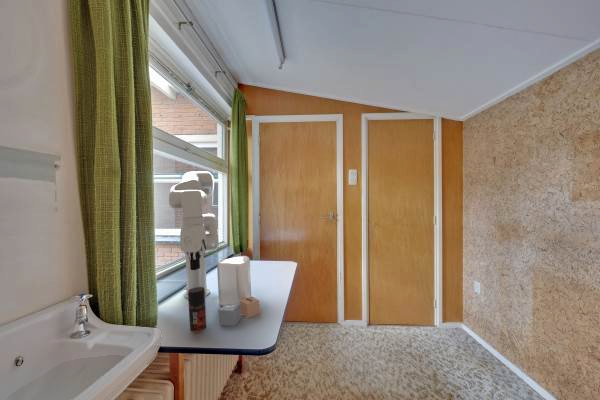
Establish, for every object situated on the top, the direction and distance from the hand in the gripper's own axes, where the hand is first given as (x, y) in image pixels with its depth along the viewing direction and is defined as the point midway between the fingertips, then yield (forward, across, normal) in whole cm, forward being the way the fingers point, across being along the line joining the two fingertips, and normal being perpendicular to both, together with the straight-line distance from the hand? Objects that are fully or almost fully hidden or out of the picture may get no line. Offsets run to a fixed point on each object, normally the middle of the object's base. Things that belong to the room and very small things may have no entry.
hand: (195, 269), depth 103 cm
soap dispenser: (+23, -1, +26) cm, 35 cm away
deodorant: (+23, 0, 0) cm, 23 cm away
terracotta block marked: (+23, +11, +18) cm, 31 cm away
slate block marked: (+23, +8, +9) cm, 26 cm away
